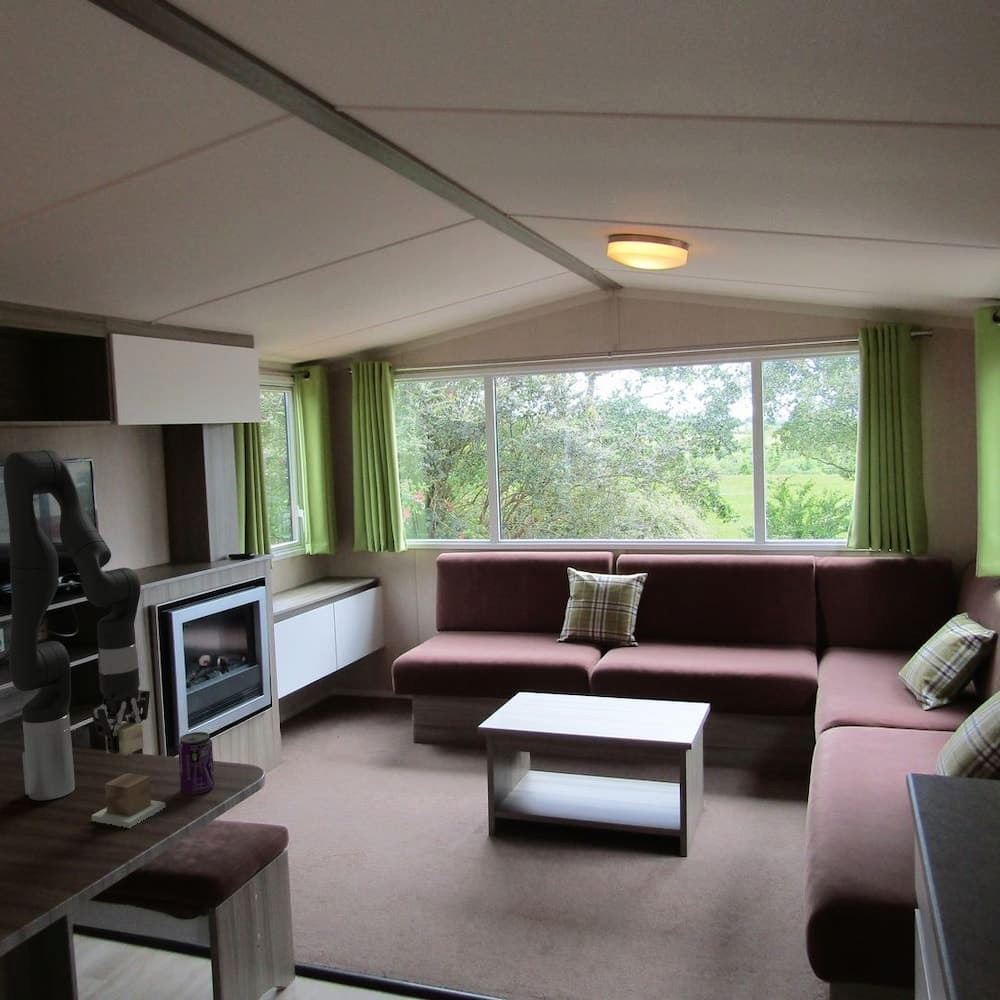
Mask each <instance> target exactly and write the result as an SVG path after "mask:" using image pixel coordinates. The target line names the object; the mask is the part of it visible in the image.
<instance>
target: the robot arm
mask: <svg viewBox="0 0 1000 1000" xmlns="http://www.w3.org/2000/svg"><path fill="white" fill-rule="evenodd" d="M2 476H3V485H4V486H3V487H4V494H5V502H6V509H7V510H6V511H7V517H8V525H9V526H8V528H9V529H8V530H9V552H10V553H9V574H10V576H9V577H10V578H9V579H10V593H11V628H10V630H11V631H10V644H9V656H8V670H9V676H10V679H11V682H12V684H13V686H14V687H15V688H16V689H17V690H18V691H21V692H29V691H33V690H37V689H39V691H38V692H37V693H36V694H35V696H33V697H32V698H31V699H30V700H28V702H26V703H25V704H24V705H23V707H22V708H21V716H22V717H21V718H22V727H23V728H22V730H23V740H24V741H23V743H24V751H23V752H22V767H23V768H22V769H23V779H24V780H23V781H24V791H25V795H26V796H28V798H29V799H31V800H34V801H50V800H55V799H60V798H62V797H65V796H66V795H69V794H71V793H73V792H74V790H75V789H76V784H75V771H74V759H73V758H74V757H73V746H72V731H71V720H70V719H71V718H70V705H71V701H72V700H71V699H72V685H71V684H72V683H71V682H72V679H71V675H72V674H71V671H72V670H71V661H70V660H71V659H70V655H69V652H68V650H67V648H66V647H65V646H64V645H63V644H62V642H59V641H56V640H50V641H45V642H42V643H38V635H39V631H40V625H41V624H42V623H41V622H42V620H43V618H44V616H45V614H46V612H47V610H48V609H49V607H50V605H51V603H52V602H53V599H54V597H55V596H56V593H57V591H58V587H59V584H60V583H59V582H60V581H59V579H60V578H59V577H60V575H59V570H60V569H59V557H58V556H59V555H58V552H57V550H56V548H55V545H54V544H53V543H52V541H51V540H50V539H49V537H48V536H47V535H46V533H45V532H44V530H43V529H42V527H41V526H40V524H39V522H38V520H37V517H36V513H35V512H36V511H35V507H34V505H35V504H34V496H35V495H45V494H50V495H51V496H52V497H53V498H54V499H55V501H56V502H57V504H58V505H59V508H60V509H59V510H60V518H59V538H60V541H61V543H62V545H63V547H64V549H65V551H66V552H67V554H68V556H69V557H71V560H72V561H73V563H74V564H75V566H76V569H77V572H78V576H79V578H80V579H79V580H80V583H81V587H82V591H83V594H84V598H85V599H86V600H87V601H88V602H89V603H90V604H91V605H93V606H95V607H97V608H107V607H110V606H112V609H111V611H110V612H109V614H107V615H106V616H104V617H102V618H100V619H99V620H98V621H97V624H96V634H97V635H96V637H97V645H98V648H97V649H98V651H97V653H98V654H97V665H98V679H99V680H98V681H99V690H100V692H101V693H102V696H103V698H102V703H101V705H100V706H98V707H93V708H91V710H90V713H91V717H92V721H93V724H94V727H95V731H96V734H97V735H99V736H106V737H107V749H108V751H109V752H110V753H109V754H111V753H114V755H118V754H117V753H119V737H118V735H117V734H118V729H119V725H120V724H121V723H122V722H123V718H124V717H125V718H126V722H133V723H141V724H142V722H143V721H145V720H147V719H148V715H149V708H150V707H149V706H150V697H151V691H149V690H144V689H143V690H142V689H141V690H140V689H139V688H140V684H141V681H140V668H139V667H140V666H139V653H138V650H137V645H136V631H135V622H136V617H137V613H138V606H139V601H140V598H141V589H142V588H141V581H140V578H139V576H138V575H137V573H136V571H134V570H133V569H132V568H129V567H120V568H114V569H110V570H109V569H108V570H105V571H104V570H103V569H102V568H104V567H105V566H106V565H107V564H109V562H110V561H111V559H112V552H111V550H110V548H109V545H107V542H106V541H105V540H104V538H103V537H102V535H101V534H100V532H99V531H98V529H97V528H96V526H95V525H94V523H93V521H92V519H91V518H90V515H89V514H88V512H87V509H86V507H85V505H84V503H83V499H82V498H81V495H80V493H79V490H78V488H77V486H76V483H75V481H74V479H73V477H72V474H71V473H70V469H69V467H68V466H67V463H66V462H65V460H64V458H62V456H61V455H60V454H59V453H58V452H57V451H54V450H50V449H40V450H27V451H26V450H24V451H13V452H11V453H10V454H8V455H7V456H6V458H5V461H4V464H3V475H2ZM113 718H115V719H113ZM111 726H113V728H112V729H111Z"/></svg>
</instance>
